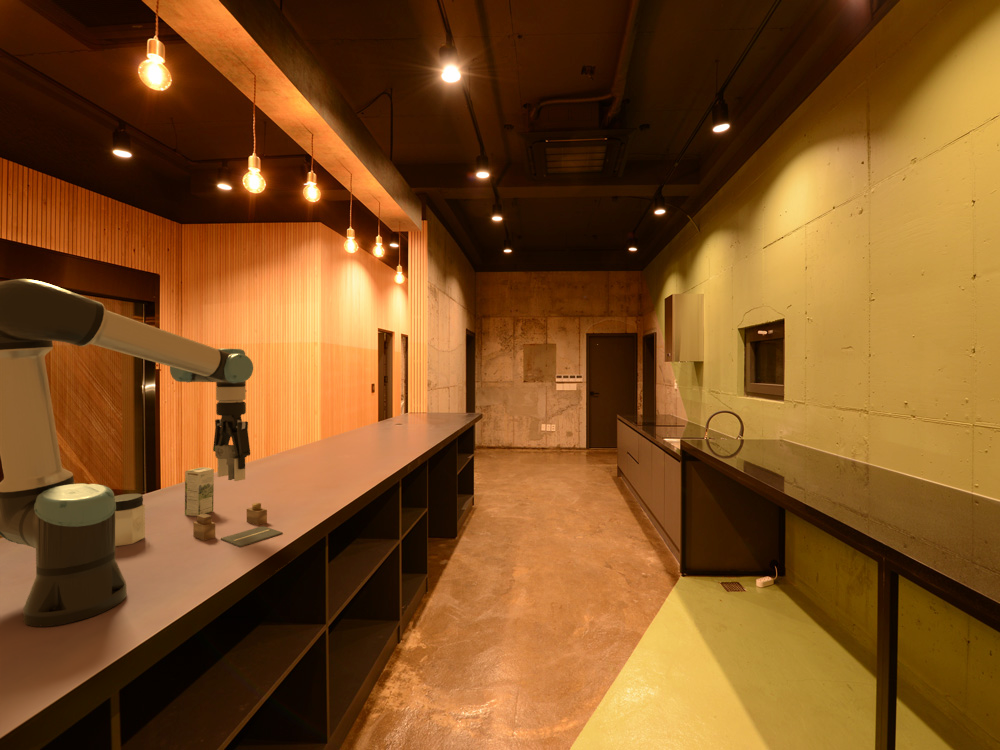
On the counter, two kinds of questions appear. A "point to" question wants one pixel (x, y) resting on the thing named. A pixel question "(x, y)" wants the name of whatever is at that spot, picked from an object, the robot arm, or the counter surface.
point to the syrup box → (199, 491)
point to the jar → (129, 519)
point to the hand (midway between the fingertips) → (231, 477)
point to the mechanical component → (226, 457)
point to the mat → (251, 536)
